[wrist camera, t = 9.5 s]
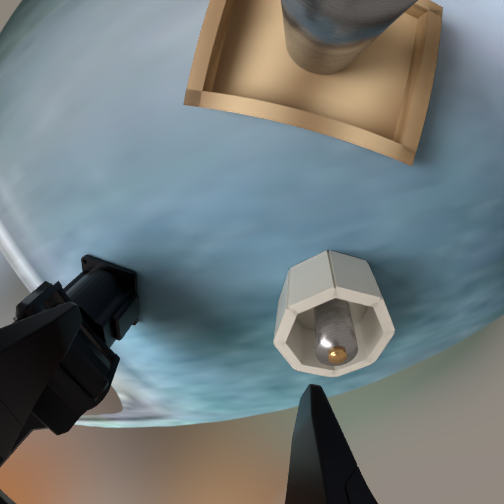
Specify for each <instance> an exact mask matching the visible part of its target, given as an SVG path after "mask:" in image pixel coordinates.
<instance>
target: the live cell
mask: <svg viewBox="0 0 504 504" xmlns="http://www.w3.org/2000/svg"><path fill="white" fill-rule="evenodd" d="M417 1H418V0H281V7H282V15H283V23H284V32H285V42H286V48H287V51H288V54H289V56H290V57H291V59H292V60H293V61H294V62H295V63H296V64H297V65H298V66H299V67H301V68H302V69H304V70H306V71H308V72H311V73H314V74H319V75H331V74H335V73H338V72H341V71H342V70H344V69H345V68H347V67H348V66H349V65H350V64H351V63H352V62H353V61H354V60H355V59H356V58H357V57H358V56H359V55H360V54H361V53H362V52H363V51H364V50H365V49H366V48H367V47H368V46H369V45H370V44H371V43H372V42H373V41H374V40H375V39H376V38H377V37H378V36H379V35H380V34H382V33H383V32H384V31H385V30H386V29H387V28H388V27H389V26H390V25H391V24H392V23H393V22H394V21H396V20H397V19H398V18H399V17H400V16H401V15H402V14H403V13H404V12H406V11H407V10H408V9H409V8H410V7H411V6H412V5H414V4H415V3H416V2H417Z"/></svg>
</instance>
